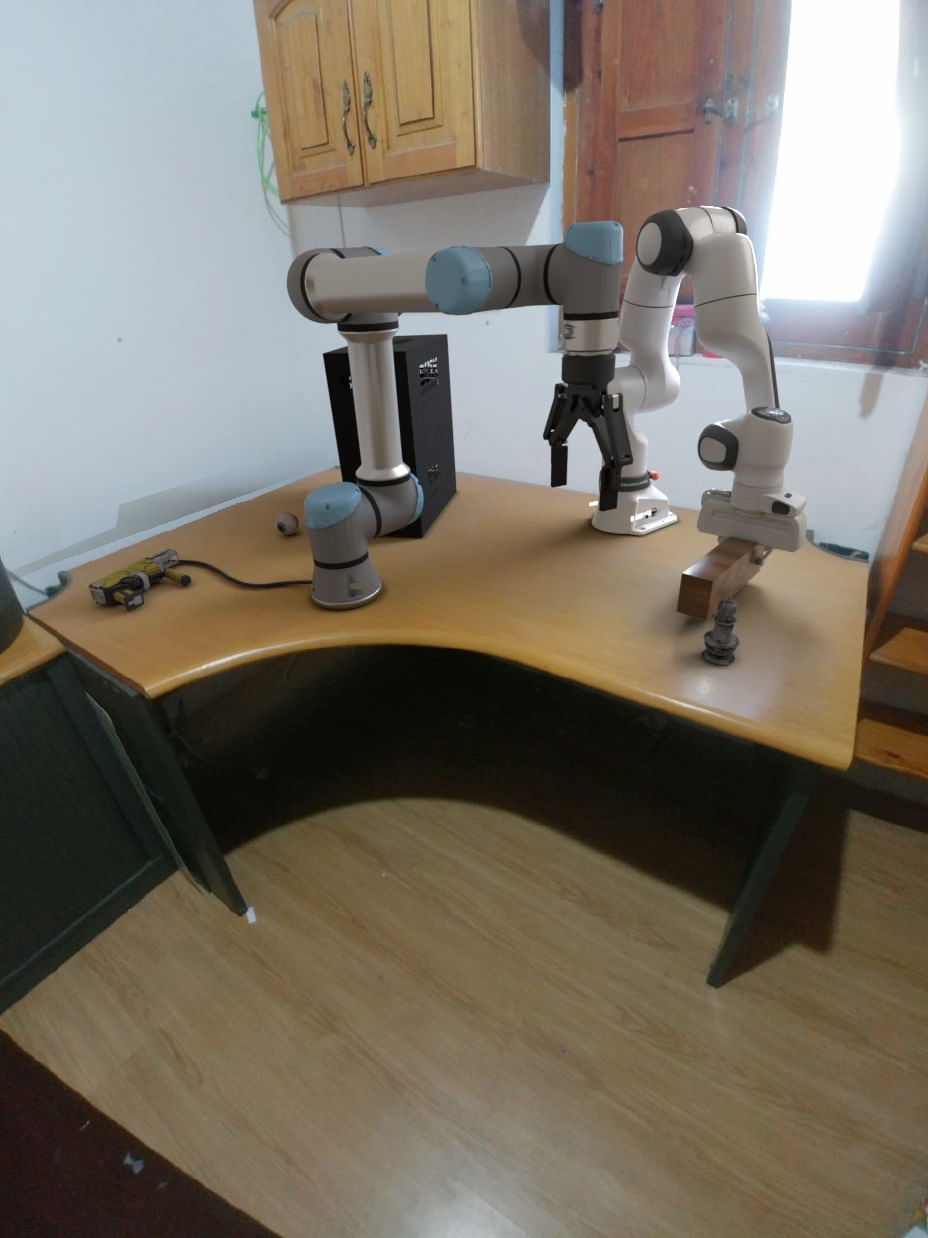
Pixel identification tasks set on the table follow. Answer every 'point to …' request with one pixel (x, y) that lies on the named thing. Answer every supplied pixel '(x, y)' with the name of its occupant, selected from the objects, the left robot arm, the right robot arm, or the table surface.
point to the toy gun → (136, 580)
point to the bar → (717, 576)
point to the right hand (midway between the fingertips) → (742, 560)
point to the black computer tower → (405, 420)
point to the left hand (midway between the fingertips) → (581, 497)
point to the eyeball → (287, 523)
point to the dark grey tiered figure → (722, 635)
